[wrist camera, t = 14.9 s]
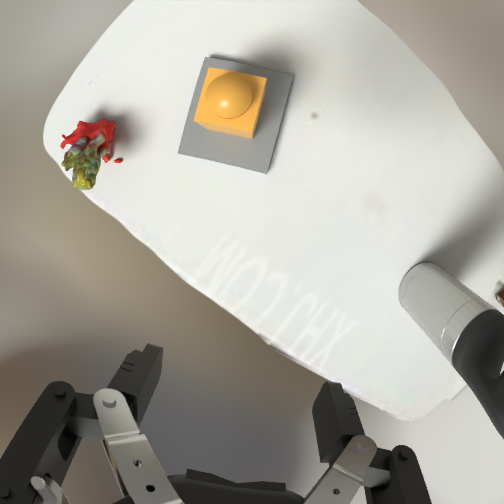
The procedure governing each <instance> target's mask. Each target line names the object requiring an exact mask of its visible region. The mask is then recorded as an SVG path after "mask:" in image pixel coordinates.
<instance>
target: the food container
mask: <svg viewBox="0 0 504 504" xmlns="http://www.w3.org/2000/svg"><path fill="white" fill-rule="evenodd" d="M495 295H496V299H497V301H498V302H499V303H500V304H501V305H502V306H503V307H504V287H503V288H501V289H500V290H499V291H498V292H497V293H496V294H495Z"/></svg>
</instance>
